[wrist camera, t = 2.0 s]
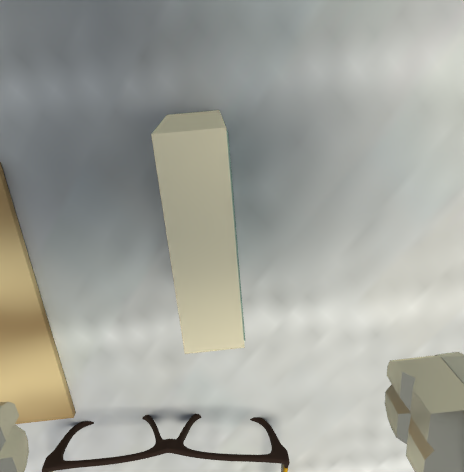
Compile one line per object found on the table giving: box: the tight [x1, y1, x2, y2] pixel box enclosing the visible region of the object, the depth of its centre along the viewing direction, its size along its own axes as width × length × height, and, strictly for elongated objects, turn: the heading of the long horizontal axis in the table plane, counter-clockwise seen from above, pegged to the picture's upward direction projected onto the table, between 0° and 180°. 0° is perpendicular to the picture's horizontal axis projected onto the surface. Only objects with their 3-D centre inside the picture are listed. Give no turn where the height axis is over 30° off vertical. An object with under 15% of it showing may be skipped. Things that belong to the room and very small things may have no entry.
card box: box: [151, 110, 245, 354], centre depth 18 cm, size 9×3×6 cm, turn 5°
